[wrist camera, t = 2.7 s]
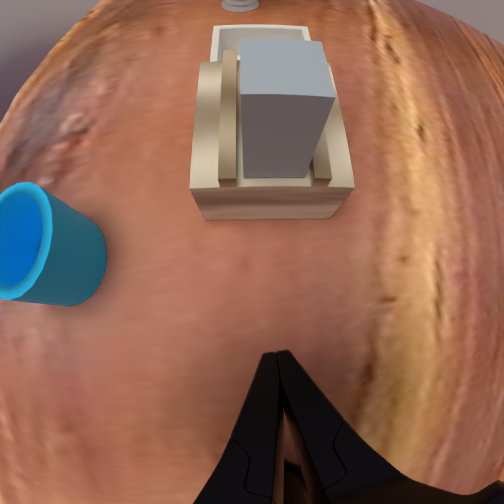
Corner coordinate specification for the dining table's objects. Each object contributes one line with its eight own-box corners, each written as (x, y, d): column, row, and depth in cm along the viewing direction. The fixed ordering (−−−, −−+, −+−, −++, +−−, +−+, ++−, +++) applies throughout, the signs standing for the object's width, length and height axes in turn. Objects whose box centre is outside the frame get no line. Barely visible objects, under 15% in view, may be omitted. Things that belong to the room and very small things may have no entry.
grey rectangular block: (304, 177, 17) (335, 97, 10) (243, 177, 17) (240, 94, 10) (299, 128, 18) (321, 41, 11) (242, 127, 18) (240, 38, 11)
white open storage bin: (311, 109, 26) (320, 79, 22) (213, 109, 26) (208, 78, 22) (301, 56, 28) (307, 26, 23) (217, 56, 28) (213, 26, 23)
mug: (117, 223, 24) (68, 186, 16) (95, 317, 22) (36, 316, 14) (26, 205, 24) (-24, 176, 16) (6, 282, 23) (-50, 270, 15)
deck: (329, 218, 24) (361, 179, 16) (204, 220, 24) (185, 180, 16) (315, 110, 26) (332, 53, 19) (209, 110, 26) (198, 51, 18)
